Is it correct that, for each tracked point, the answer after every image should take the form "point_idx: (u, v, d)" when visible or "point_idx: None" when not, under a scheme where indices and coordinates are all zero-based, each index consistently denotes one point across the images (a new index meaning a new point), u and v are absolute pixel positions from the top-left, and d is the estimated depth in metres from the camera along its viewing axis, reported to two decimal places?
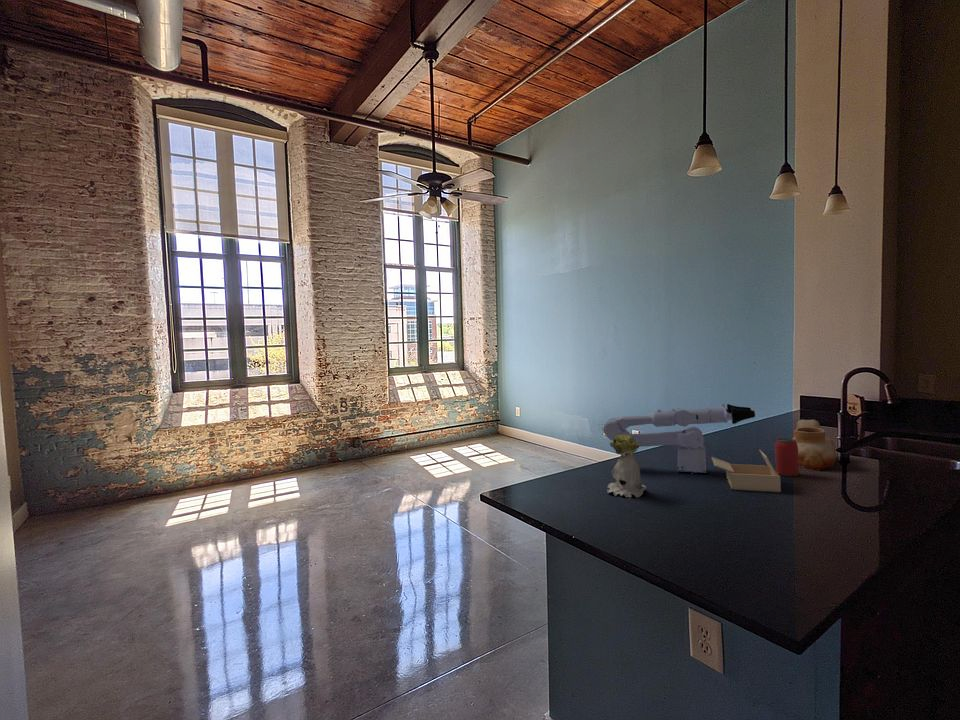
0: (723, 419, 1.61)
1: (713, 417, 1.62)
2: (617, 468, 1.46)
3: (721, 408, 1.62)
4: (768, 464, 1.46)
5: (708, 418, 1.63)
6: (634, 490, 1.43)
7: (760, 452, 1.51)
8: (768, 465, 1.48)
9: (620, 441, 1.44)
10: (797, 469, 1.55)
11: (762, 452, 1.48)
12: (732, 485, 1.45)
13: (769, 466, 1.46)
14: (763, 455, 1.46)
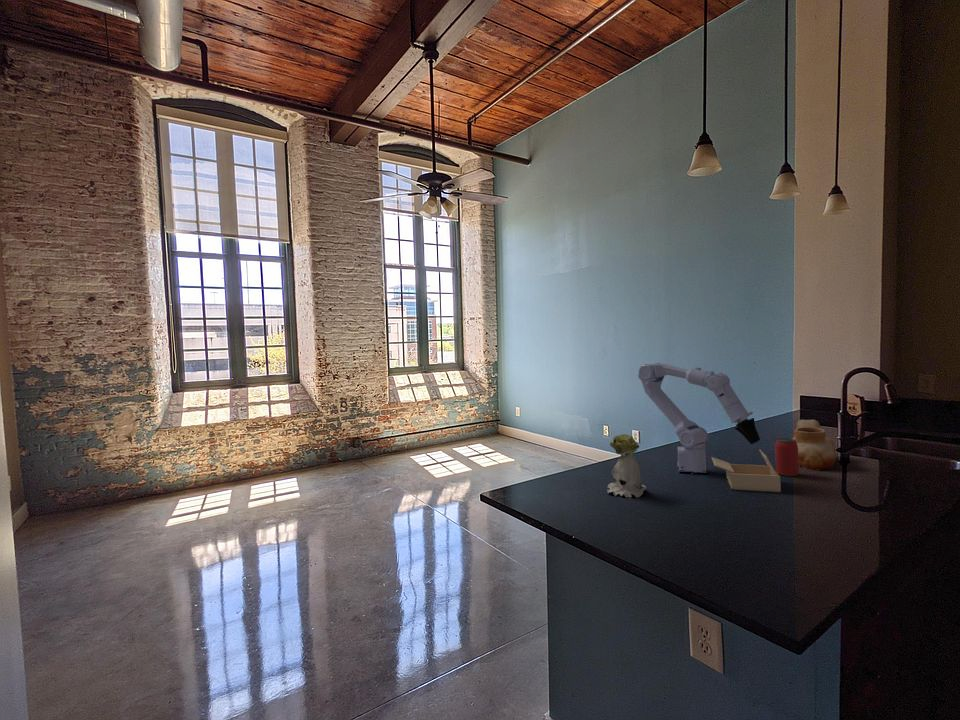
0: (735, 417, 1.53)
1: (733, 407, 1.53)
2: (617, 468, 1.46)
3: (746, 412, 1.52)
4: (768, 464, 1.46)
5: (725, 405, 1.55)
6: (634, 490, 1.43)
7: (760, 452, 1.51)
8: (768, 465, 1.48)
9: (620, 441, 1.44)
10: (797, 469, 1.55)
11: (762, 452, 1.48)
12: (732, 485, 1.45)
13: (769, 466, 1.46)
14: (763, 455, 1.46)
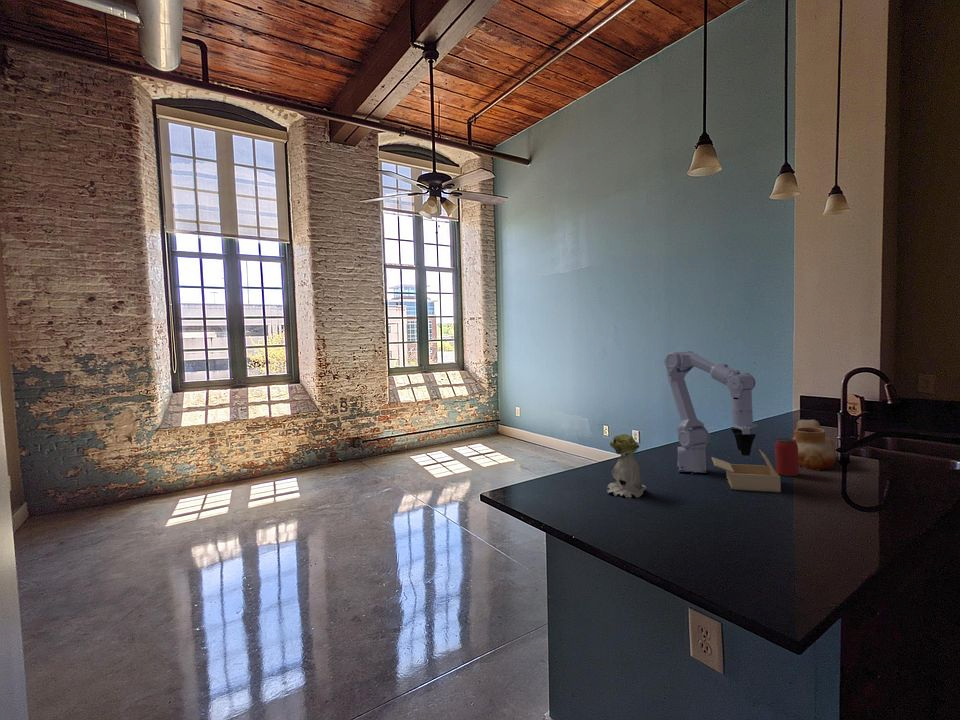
0: (738, 424, 1.47)
1: (741, 415, 1.46)
2: (617, 468, 1.46)
3: (751, 423, 1.46)
4: (768, 464, 1.46)
5: (734, 409, 1.48)
6: (634, 490, 1.43)
7: (760, 452, 1.51)
8: (768, 465, 1.48)
9: (620, 441, 1.44)
10: (797, 469, 1.55)
11: (762, 452, 1.48)
12: (732, 485, 1.45)
13: (769, 466, 1.46)
14: (763, 455, 1.46)
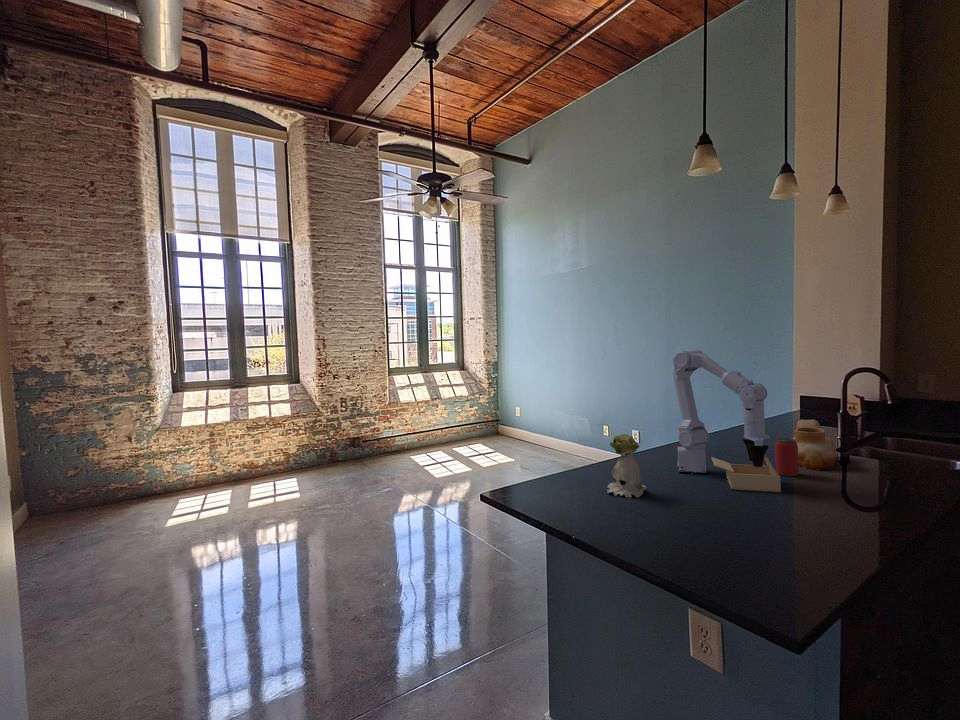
0: (750, 435, 1.46)
1: (754, 426, 1.45)
2: (617, 468, 1.46)
3: (763, 435, 1.45)
4: (768, 464, 1.46)
5: (746, 420, 1.47)
6: (634, 490, 1.43)
7: None
8: (768, 465, 1.48)
9: (620, 441, 1.44)
10: (797, 469, 1.55)
11: None
12: (732, 485, 1.45)
13: (769, 466, 1.46)
14: None
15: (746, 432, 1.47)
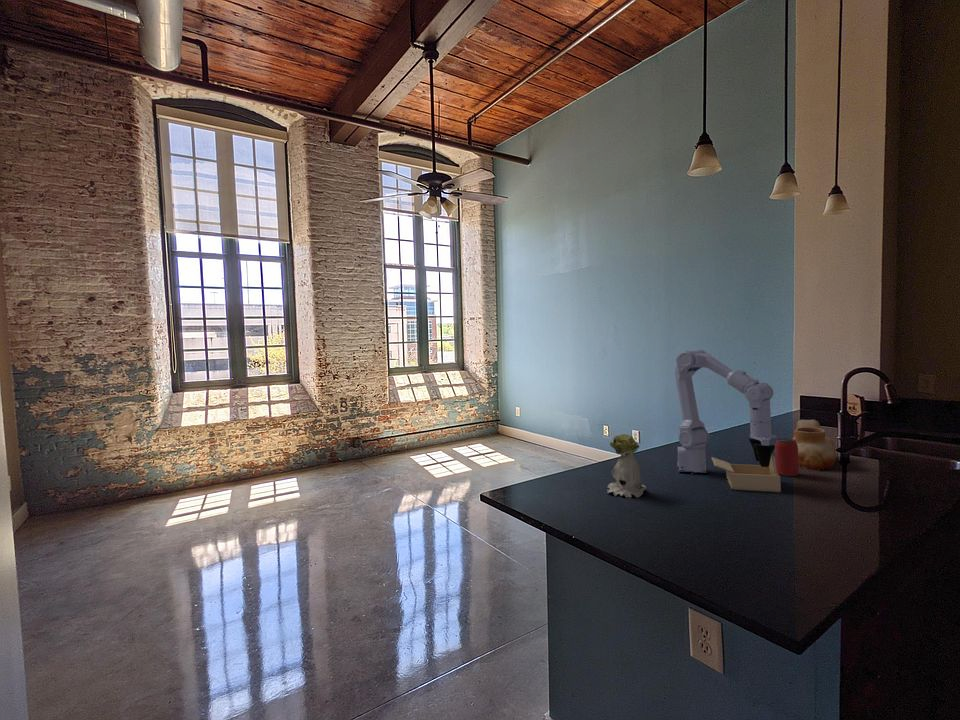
0: (757, 435, 1.45)
1: (760, 425, 1.44)
2: (617, 468, 1.46)
3: (770, 434, 1.44)
4: (770, 463, 1.46)
5: (753, 420, 1.46)
6: (634, 490, 1.43)
7: None
8: (769, 465, 1.48)
9: (620, 441, 1.44)
10: (797, 469, 1.55)
11: None
12: (732, 485, 1.45)
13: (770, 466, 1.46)
14: None
15: (752, 432, 1.46)
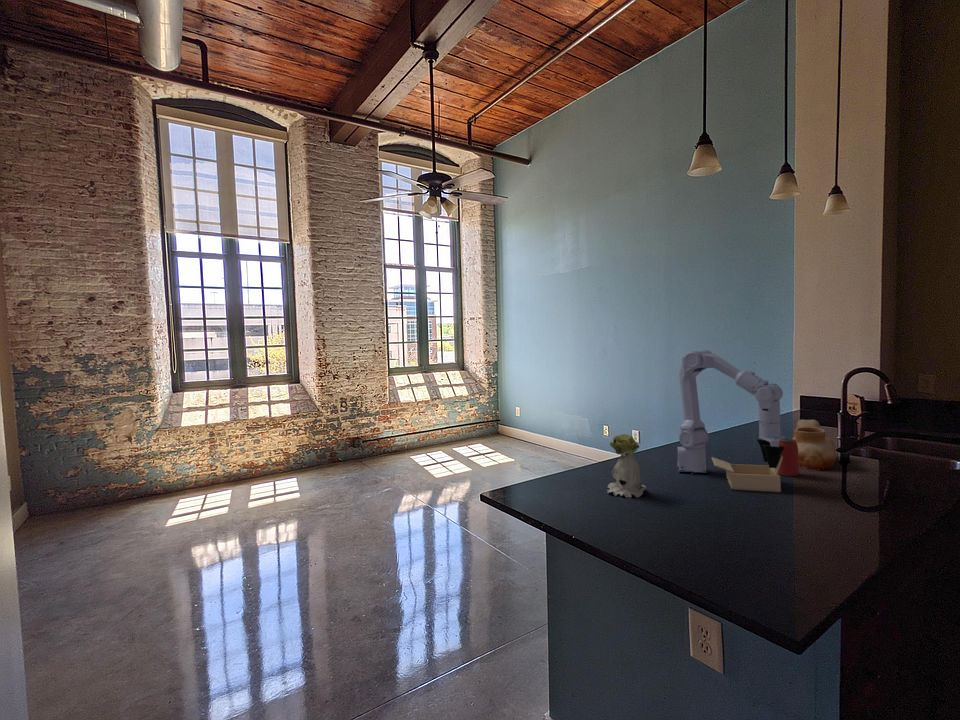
0: (766, 436, 1.44)
1: (769, 426, 1.43)
2: (617, 468, 1.46)
3: (779, 435, 1.44)
4: None
5: (763, 420, 1.45)
6: (634, 490, 1.43)
7: None
8: None
9: (620, 441, 1.44)
10: (797, 469, 1.55)
11: None
12: (732, 485, 1.45)
13: None
14: None
15: (761, 432, 1.46)
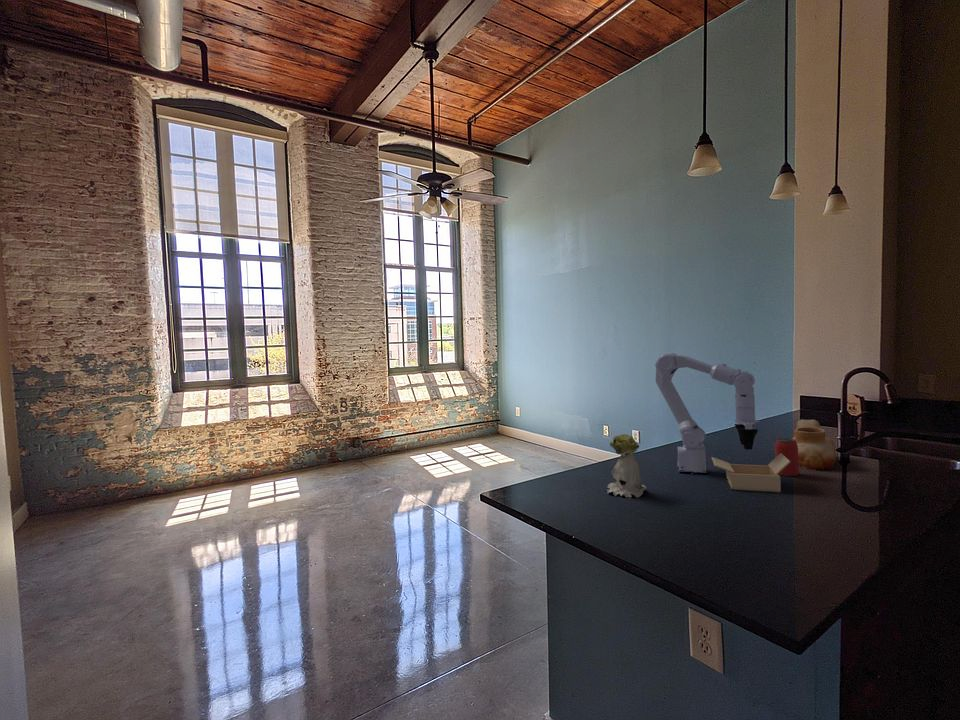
0: (741, 420, 1.55)
1: (744, 411, 1.54)
2: (617, 468, 1.46)
3: (754, 419, 1.55)
4: (776, 465, 1.45)
5: (741, 406, 1.55)
6: (634, 490, 1.43)
7: (779, 454, 1.50)
8: (772, 465, 1.48)
9: (620, 441, 1.44)
10: (797, 469, 1.55)
11: None
12: (732, 485, 1.45)
13: (774, 466, 1.46)
14: (785, 458, 1.44)
15: (737, 417, 1.57)
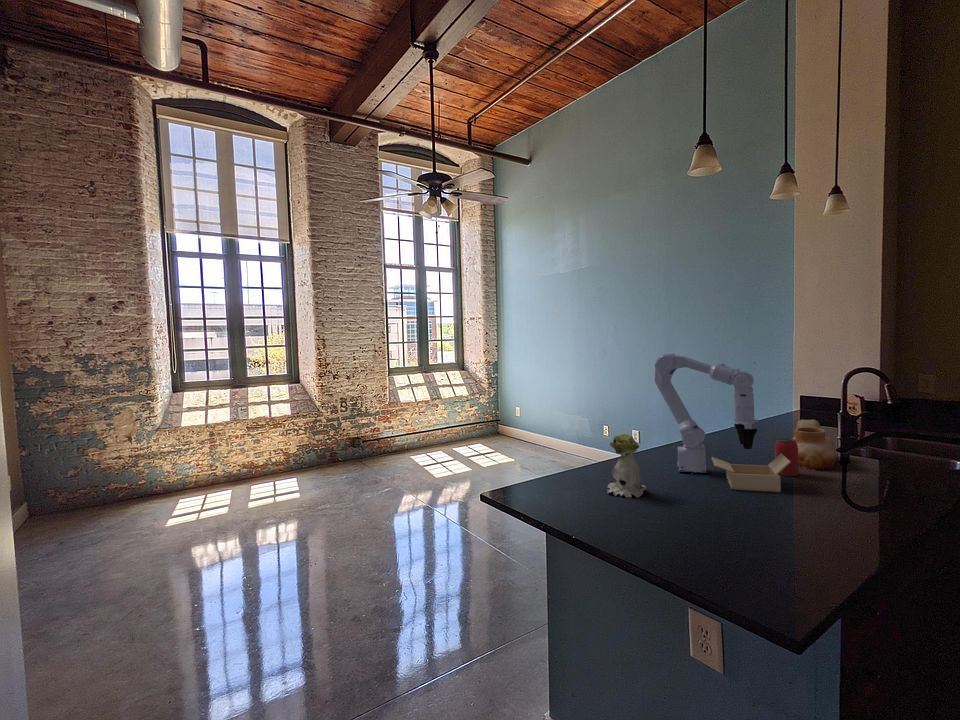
0: (740, 419, 1.56)
1: (744, 410, 1.55)
2: (617, 468, 1.46)
3: (753, 419, 1.55)
4: (776, 465, 1.45)
5: (740, 406, 1.55)
6: (634, 490, 1.43)
7: (779, 455, 1.49)
8: (772, 465, 1.48)
9: (620, 441, 1.44)
10: (797, 469, 1.55)
11: None
12: (732, 485, 1.45)
13: (774, 466, 1.46)
14: (785, 458, 1.44)
15: (737, 417, 1.57)
